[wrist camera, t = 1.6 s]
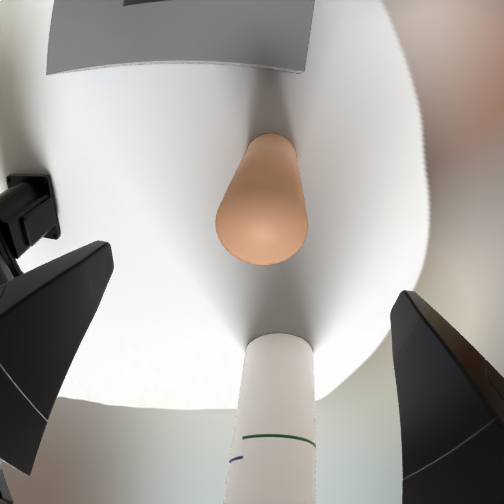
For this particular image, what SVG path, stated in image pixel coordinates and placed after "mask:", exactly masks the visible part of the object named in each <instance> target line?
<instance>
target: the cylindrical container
mask: <svg viewBox="0 0 504 504" xmlns="http://www.w3.org/2000/svg"><path fill="white" fill-rule="evenodd" d="M315 430H316V427H315V390H314V366H313V351H312V348H311V346H310V345H309V344H308V343H307V342H306V341H305V340H303V339H302V338H299V337H297V336H294V335H290V334H284V333H273V334H267V335H263V336H260V337H258V338H256V339H254V340H253V341H251V342H250V343H249V344H248V346H247V348H246V352H245V358H244V365H243V372H242V379H241V386H240V393H239V399H238V406H237V413H236V420H235V427H234V434H233V441H232V449H231V455H230V461H229V468H228V475H227V481H226V488H225V494H224V501H223V504H315V493H316V491H315V490H316V431H315Z"/></svg>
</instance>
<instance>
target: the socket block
mask: <svg viewBox="0 0 504 504" xmlns="http://www.w3.org/2000/svg"><path fill="white" fill-rule="evenodd" d="M314 2H315V0H170V1H159V2H153V0H54V5H53V11H52V18H51V25H50V33H49V43H48V55H47V72H46V75H51V74H58V73H67V72H76V71H84V70H91V69H98V68H106V67H116V66H127V65H141V64H166V63H194V64H219V65H234V66H246V67H255V68H264V69H272V70H279V71H286V72H292V73H298V74H300V73H302V72H304V71H305V64H306V57H307V51H308V44H309V37H310V30H311V23H312V16H313V9H314Z"/></svg>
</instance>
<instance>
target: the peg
mask: <svg viewBox="0 0 504 504" xmlns="http://www.w3.org/2000/svg"><path fill="white" fill-rule="evenodd" d="M307 230H308V222H307V215H306V208H305V202H304V196H303V190H302V184H301V178H300V173H299V167H298V162H297V156H296V151H295V149H294V146H293V145H292V143H291V142H290V141H289V140H288V139H286V138H285V137H283V136H281V135H279V134H274V133H267V134H263V135H260V136H258V137H256V138H255V139H254V140H253V141H252V142H251V143H250V144H249V146H248V148H247V150H246V152H245V154H244V156H243V158H242V160H241V162H240V164H239V166H238V168H237V170H236V173H235V175H234V177H233V179H232V181H231V183H230V185H229V187H228V189H227V191H226V193H225V196H224V198H223V200H222V202H221V204H220V206H219V208H218V211H217V214H216V231H217V234H218V237H219V239H220V241H221V243H222V245H223V246H224V247H225V248H226V250H227V251H229V252H230V253H231V254H232V255H233V256H235V257H236V258H238V259H240V260H242V261H244V262H247V263H250V264H255V265H271V264H276V263H279V262H282V261H284V260H286V259H288V258H290V257H291V256H293V255H294V254H295V253H296V252H297V251H298V250H299V249H300V247H301V246H302V244H303V243H304V241H305V238H306V235H307Z"/></svg>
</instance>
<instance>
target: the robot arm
mask: <svg viewBox="0 0 504 504" xmlns="http://www.w3.org/2000/svg"><path fill="white" fill-rule="evenodd" d="M45 180H46V181H45ZM7 185H8V189H7V190H5V191H4V192H2V193H1V194H0V466H1V463H2V461H4V462H6V463H7V464H9V465H11V466H12V467H14V468H16V469H17V470H19V471H21V472H22V473H24V474H26V475H27V476H30V474H31V470H32V467H33V464H34V461H35V457H36V454H37V451H38V448H39V445H40V442H41V439H42V436H43V433H44V430H45V427H46V425H47V420H48V418H49V416H50V413H51V411H52V408H53V405H54V403H55V400H56V398H57V395H58V393H59V391H60V388H61V386H62V383H63V381H64V379H65V376H66V374H67V372H68V369H69V367H70V365H71V363H72V360H73V358H74V356H75V354H76V352H77V350H78V348H79V345H80V343H81V341H82V339H83V337H84V335H85V333H86V331H87V329H88V327H89V325H90V323H91V321H92V319H93V317H94V315H95V313H96V311H97V309H98V306H99V304H100V301H101V299H102V296H103V294H104V291H105V289H106V287H107V284H108V282H109V279H110V277H111V275H112V272H113V269H114V263H113V257H112V250H111V245H110V244H109V243H108V242H104V241H95V242H93V243H90V244H88V245H86V246H83V247H81V248H79V249H76V250H74V251H72V252H70V253H67V254H65V255H63V256H61V257H59V258H56V259H54V260H52V261H50V262H48V263H45V264H43V265H41V266H39V267H37V268H35V269H33V270H31V271H29V272H27V273H23V272H22V271H21V269H20V267H19V265H18V263H17V261H16V259H18V258H19V257H20V256H21V255H22V254H23V253H24V252H25V251H26V250H28V249H29V248H30V247H31V246H33V245H34V244H35V243H36V242H38V241H39V240H40V239H41V238H42V237H45V238H50V239H55V240H57V239H58V238H59V237H60V230H59V225H58V220H57V215H56V209H55V204H54V198H53V192H52V185H51V179H50V177H49V176H48V175H37V174H10V175H8V176H7ZM15 258H16V259H15ZM390 319H391V331H392V332H391V333H392V351H393V362H394V370H395V377H396V385H397V394H398V403H399V413H400V425H401V441H402V464H403V479H404V480H403V493H402V494H403V495H402V504H504V378H503V377H502V376H501V375H500V374H499V373H498V372H497V370H495V368H494V367H493V366H492V365H491V364H490V363H489V362H488V361H487V360H486V361H485V358H484V357H483V356H482V355H481V354H480V353H479V352H478V351H477V350H476V349H475V348H474V347H473V346H472V345H471V344H470V343H469V342H468V341H467V340H466V339H465V338H464V337H463V336H462V335H461V334H460V333H459V332H458V331H457V330H456V329H455V328H453V327H452V326H451V325H450V324H449V323H448V322H447V321H446V320H445V319H444V318H443V317H442V316H441V315H440V314H439V313H438V312H436V311H435V310H434V309H433V308H432V307H431V306H430V305H429V304H428V303H427V302H425V301H424V300H423V299H422V298H421V297H420V296H419V295H418V294H416V293H415V292H413V291H407V290H403V291H402V292H401V293H400V295H399V296H398V298H397V300H396V302H395V304H394V306H393V308H392V310H391V314H390ZM0 504H13V500H12V498H11V495H10V492H9V489H8V487H7V484H6V481H5V478H4V475H3V471H2V470H1V469H0Z"/></svg>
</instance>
